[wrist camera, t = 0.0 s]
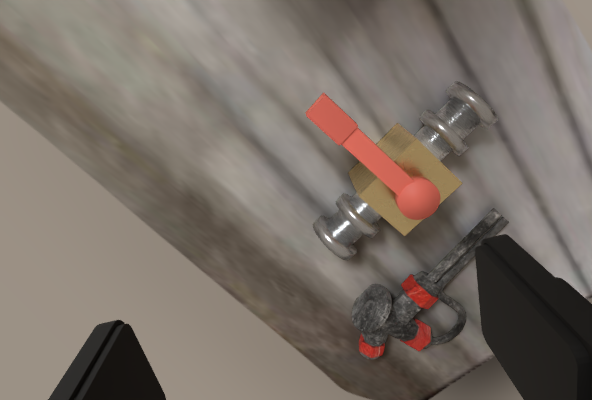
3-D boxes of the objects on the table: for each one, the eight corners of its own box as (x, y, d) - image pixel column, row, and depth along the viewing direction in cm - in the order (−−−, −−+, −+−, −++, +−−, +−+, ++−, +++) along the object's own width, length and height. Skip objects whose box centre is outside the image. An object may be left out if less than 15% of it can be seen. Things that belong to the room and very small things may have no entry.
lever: (299, 119, 37) (300, 122, 35) (329, 85, 36) (331, 87, 34) (413, 220, 41) (417, 227, 40) (443, 193, 40) (449, 199, 39)
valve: (399, 361, 63) (328, 322, 57) (527, 239, 56) (461, 182, 51) (417, 396, 57) (340, 357, 51) (561, 265, 51) (492, 204, 45)
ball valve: (308, 213, 50) (312, 247, 42) (443, 75, 44) (479, 84, 36) (348, 246, 52) (360, 284, 44) (483, 117, 46) (525, 135, 38)
